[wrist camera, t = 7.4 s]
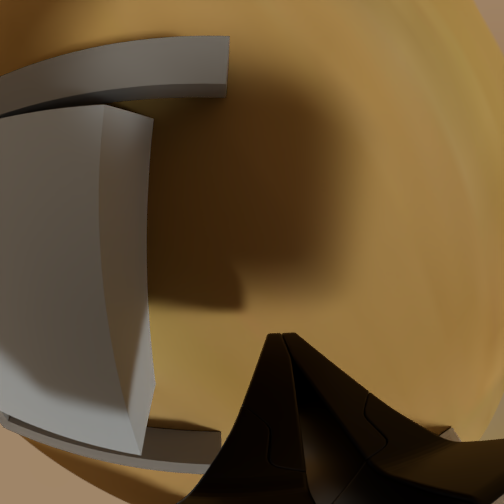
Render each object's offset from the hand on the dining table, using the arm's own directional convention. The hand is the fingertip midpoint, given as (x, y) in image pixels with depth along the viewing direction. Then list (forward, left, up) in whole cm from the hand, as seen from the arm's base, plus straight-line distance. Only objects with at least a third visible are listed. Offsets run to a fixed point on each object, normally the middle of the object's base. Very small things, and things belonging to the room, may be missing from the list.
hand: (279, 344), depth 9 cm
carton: (+2, +9, -2) cm, 9 cm away
